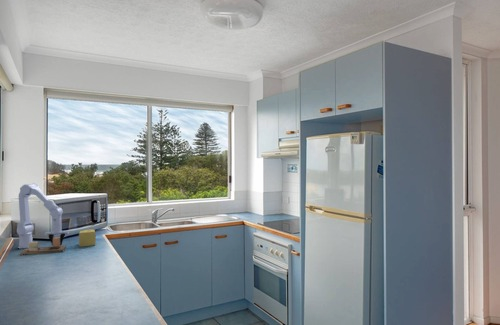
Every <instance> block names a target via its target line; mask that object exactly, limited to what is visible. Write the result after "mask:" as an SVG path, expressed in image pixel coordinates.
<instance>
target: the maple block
mask: <svg viewBox="0 0 500 325" xmlns="http://www.w3.org/2000/svg"><path fill="white" fill-rule="evenodd" d="M38 248H39V241H38V240H37V241H32V242H30V243H29V251H38Z"/></svg>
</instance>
